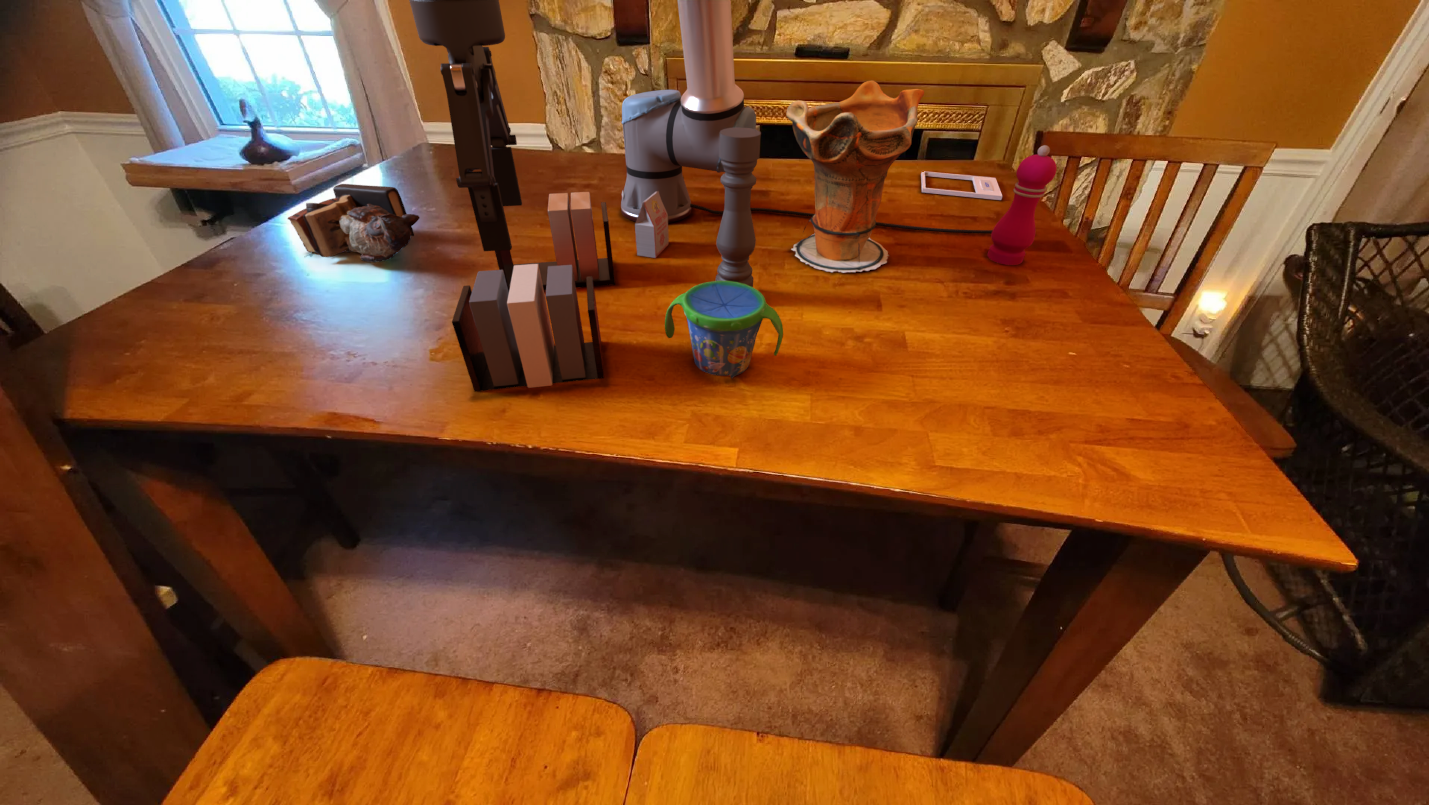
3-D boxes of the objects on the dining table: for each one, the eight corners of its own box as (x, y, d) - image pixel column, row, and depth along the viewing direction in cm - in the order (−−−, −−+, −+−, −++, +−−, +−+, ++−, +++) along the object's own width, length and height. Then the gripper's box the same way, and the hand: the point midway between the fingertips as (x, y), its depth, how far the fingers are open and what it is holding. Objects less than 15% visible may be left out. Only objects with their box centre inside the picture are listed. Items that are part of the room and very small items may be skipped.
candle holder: (726, 308, 88) (731, 140, 72) (708, 292, 92) (709, 129, 77) (759, 300, 90) (771, 135, 75) (740, 284, 95) (748, 125, 79)
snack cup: (787, 357, 78) (795, 291, 71) (765, 400, 70) (771, 331, 63) (685, 334, 82) (684, 270, 75) (654, 373, 74) (649, 305, 68)
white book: (554, 343, 78) (538, 263, 70) (552, 385, 70) (534, 300, 63) (532, 345, 77) (513, 265, 70) (527, 388, 70) (506, 303, 62)
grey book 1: (522, 350, 76) (503, 269, 69) (518, 384, 70) (496, 299, 63) (500, 352, 76) (477, 271, 68) (493, 387, 70) (468, 302, 62)
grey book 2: (584, 344, 78) (572, 264, 70) (585, 377, 71) (572, 293, 64) (562, 346, 77) (547, 266, 70) (562, 379, 71) (545, 295, 63)
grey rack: (602, 346, 79) (592, 275, 72) (604, 384, 72) (594, 309, 65) (484, 358, 76) (463, 285, 69) (476, 397, 70) (451, 321, 63)
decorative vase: (755, 256, 104) (766, 86, 86) (824, 223, 117) (846, 71, 100) (851, 292, 93) (885, 107, 75) (915, 252, 106) (957, 86, 89)
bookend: (341, 182, 106) (443, 183, 98) (365, 238, 112) (463, 243, 104) (268, 204, 95) (377, 208, 87) (300, 265, 101) (404, 273, 93)
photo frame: (1002, 195, 129) (922, 187, 133) (1001, 200, 130) (921, 192, 134) (995, 177, 140) (922, 170, 144) (994, 181, 141) (921, 174, 145)
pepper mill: (1025, 254, 106) (1069, 143, 94) (1024, 269, 101) (1070, 153, 88) (985, 248, 108) (1022, 137, 96) (982, 262, 103) (1021, 147, 91)
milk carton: (637, 255, 103) (633, 201, 97) (651, 241, 108) (648, 189, 102) (655, 257, 103) (652, 203, 96) (668, 244, 108) (666, 191, 101)
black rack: (612, 262, 101) (604, 189, 93) (615, 284, 94) (607, 208, 86) (509, 269, 98) (492, 195, 90) (505, 293, 91) (485, 215, 83)
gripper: (435, -15, 58) (484, 191, 71) (365, -4, 39) (449, 275, 52) (510, -14, 59) (544, 189, 72) (477, -2, 40) (532, 270, 53)
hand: (504, 225), depth 62 cm, fingers open, 13 cm apart
